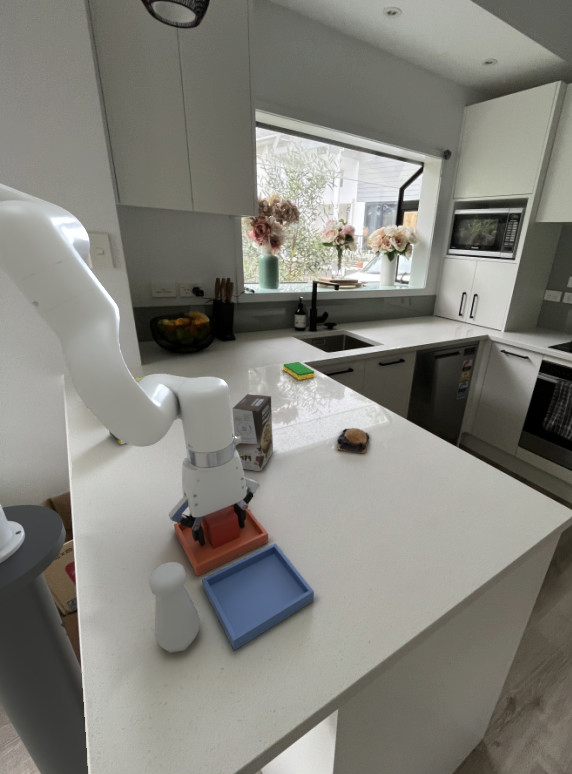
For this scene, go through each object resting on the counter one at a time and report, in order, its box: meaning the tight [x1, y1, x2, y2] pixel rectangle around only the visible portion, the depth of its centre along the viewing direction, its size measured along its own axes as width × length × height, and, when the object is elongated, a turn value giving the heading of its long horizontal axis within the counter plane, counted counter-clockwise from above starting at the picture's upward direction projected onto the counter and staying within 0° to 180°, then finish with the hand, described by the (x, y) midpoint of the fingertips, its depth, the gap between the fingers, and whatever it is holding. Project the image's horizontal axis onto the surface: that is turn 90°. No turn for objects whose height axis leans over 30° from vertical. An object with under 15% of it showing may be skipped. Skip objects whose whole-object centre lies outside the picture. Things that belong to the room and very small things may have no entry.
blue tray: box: [201, 543, 315, 651], centre depth 59 cm, size 13×12×2 cm
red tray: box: [173, 504, 269, 577], centre depth 70 cm, size 13×12×2 cm
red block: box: [202, 506, 240, 549], centre depth 69 cm, size 5×5×5 cm
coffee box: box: [231, 393, 274, 472], centre depth 91 cm, size 9×6×16 cm
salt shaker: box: [148, 561, 201, 654], centre depth 50 cm, size 6×6×13 cm
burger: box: [337, 427, 370, 455], centre depth 103 cm, size 11×8×4 cm
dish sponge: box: [282, 361, 315, 381], centre depth 152 cm, size 7×14×2 cm, turn 33°
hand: (220, 531), depth 70 cm, fingers open, 7 cm apart
